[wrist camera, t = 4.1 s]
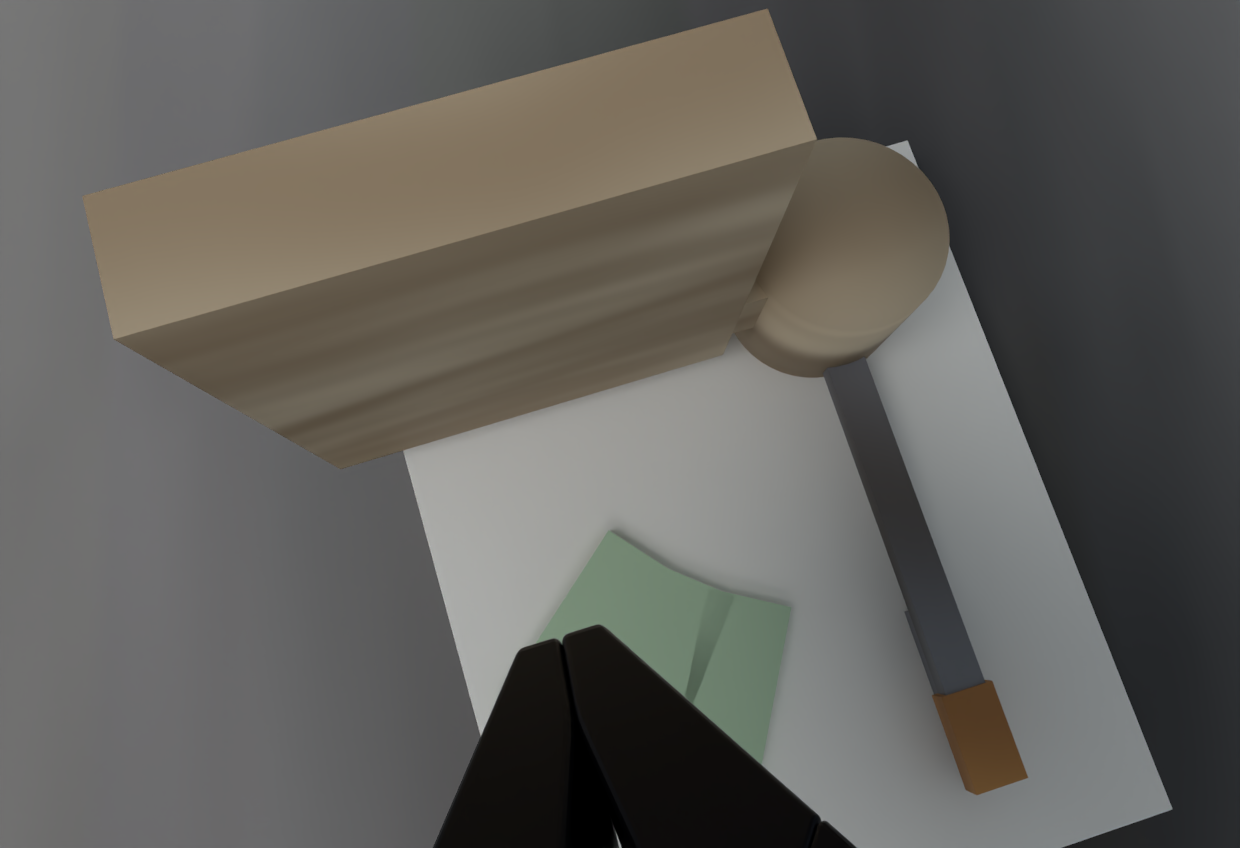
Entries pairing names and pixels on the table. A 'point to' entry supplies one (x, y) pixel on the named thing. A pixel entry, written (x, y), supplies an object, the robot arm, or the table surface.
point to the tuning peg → (556, 276)
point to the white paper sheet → (802, 580)
